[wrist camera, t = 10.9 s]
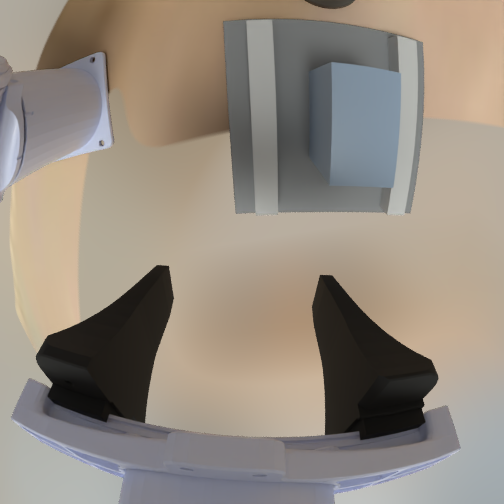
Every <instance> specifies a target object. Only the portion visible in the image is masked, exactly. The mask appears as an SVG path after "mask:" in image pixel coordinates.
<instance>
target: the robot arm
mask: <svg viewBox="0 0 504 504" xmlns="http://www.w3.org/2000/svg"><path fill="white" fill-rule="evenodd" d="M94 57H95V61H94V62H92V60H93V58H94ZM12 71H13V70H12V68H11V66H9V64H8V62H7V60H6V59H5V58H4V57H2V56H0V202H2V200H3V194H4V192H5V190H6V189H7V188H8V187H9V186H11V185H13V184H14V183H16V182H18V181H19V180H21V179H23V178H24V177H26V176H28V175H30V174H31V173H33V172H35V171H37V170H39V169H40V168H42V167H44V166H46V165H48V164H50V163H52V162H55V161H59V160H62V159H66V158H69V157H73V156H77V155H81V154H85V153H89V152H93V151H97V150H102V149H106V148H109V147H111V146H112V145H113V144H114V136H113V130H112V124H111V115H110V107H109V97H108V87H107V74H106V57H105V54H104V53H103V52H97V53H94V54H92V55H89V56H87V57H84V58H82V59H79V60H77V61H75V62H73V63H70V64H68V65H66V66H64V67H62V68H60V69H43V70H31V71H21V72H13V73H12ZM102 140H103V141H104V145H102V144H101V141H102ZM173 299H174V297H173V291H172V284H171V277H170V271H169V266H162V265H157V266H156V267H154V268H153V269H152V270H151V271H150V272H149V273H148V274H147V275H145V276H144V277H143V278H142V279H141V280H140V281H139V282H138V283H137V284H135V285H134V286H133V287H132V288H131V289H130V290H128V291H127V292H126V293H125V294H124V295H122V296H121V297H120V298H119V299H117V300H116V301H115V302H113V303H112V304H111V305H109V306H108V307H106V308H105V309H103V310H102V311H100V312H99V313H97V314H95V315H94V316H92V317H90V318H88V319H86V320H85V321H83V322H81V323H79V324H77V325H74V326H72V327H70V328H67V329H65V330H62V331H60V332H57V333H54V334H51V335H48V336H47V338H46V339H45V341H44V343H43V345H42V346H41V348H40V350H39V352H38V353H37V355H36V360H37V363H38V365H39V367H40V368H41V369H42V371H43V372H44V373H45V375H46V376H47V377H48V378H49V379H50V381H51V382H52V383H53V384H52V387H51V389H50V388H49V387H48V386H46V385H44V384H42V383H40V382H38V381H35V380H33V379H31V378H29V379H28V381H27V383H26V385H25V387H24V389H23V391H22V394H21V396H20V398H19V400H18V402H17V405H16V407H15V409H14V412H13V414H12V416H11V419H12V420H13V421H14V422H15V423H16V424H18V425H19V426H20V427H21V428H23V429H24V430H25V431H27V432H28V433H29V434H31V435H32V436H33V437H35V438H36V439H38V440H39V441H40V442H42V443H44V444H46V445H48V446H50V447H52V448H54V449H56V450H58V451H60V452H62V453H64V454H66V455H68V456H70V457H72V458H74V459H76V460H79V461H81V462H83V463H86V464H88V465H90V466H92V467H95V468H98V469H100V470H103V471H105V472H108V473H110V474H113V475H116V476H119V477H122V478H124V479H123V483H122V488H121V494H120V499H119V504H335V502H334V494H337V493H342V492H348V491H352V490H357V489H361V488H365V487H369V486H373V485H377V484H381V483H384V482H388V481H391V480H394V479H397V478H401V477H404V476H407V475H410V474H413V473H415V472H418V471H421V470H424V469H427V468H429V467H431V466H433V465H435V464H437V463H439V462H440V461H442V460H444V459H446V458H447V457H449V456H451V455H453V454H454V453H456V452H457V451H459V450H460V444H459V441H458V437H457V434H456V430H455V427H454V424H453V421H452V418H451V415H450V412H449V409H448V406H442V407H439V408H436V409H432V410H429V411H427V412H425V413H423V412H422V408H423V407H424V402H423V398H424V397H425V396H426V395H427V394H428V393H429V392H430V391H431V390H432V389H433V387H434V386H435V385H436V383H437V380H438V374H437V372H436V370H435V367H434V365H433V363H432V361H431V360H430V359H428V358H426V357H424V356H422V355H420V354H418V353H416V352H414V351H413V350H411V349H409V348H407V347H406V346H404V345H403V344H401V343H400V342H398V341H397V340H396V339H394V338H393V337H391V336H390V335H389V334H387V333H386V332H385V331H384V330H382V329H381V328H380V327H379V326H378V325H377V324H376V323H374V322H373V321H372V320H371V319H370V318H369V317H368V316H367V315H366V314H365V313H364V312H363V311H362V310H361V309H360V308H359V307H358V305H357V304H356V303H355V302H354V301H353V300H352V299H351V298H350V297H349V295H348V294H347V293H346V292H345V290H344V289H343V288H342V287H341V286H340V285H339V283H338V282H337V281H336V280H335V278H334V277H333V276H331V275H320V278H319V281H318V285H317V289H316V293H315V297H314V301H313V305H312V311H313V322H314V328H315V332H316V337H317V342H318V346H319V351H320V356H321V360H322V366H323V376H324V389H325V435H321V436H307V437H243V436H242V437H241V436H228V435H216V434H206V433H198V432H191V431H184V430H177V429H171V428H166V427H160V426H156V425H151V424H146V423H145V416H146V406H147V398H148V391H149V385H150V380H151V373H152V369H153V365H154V360H155V356H156V353H157V350H158V347H159V344H160V341H161V339H162V336H163V333H164V330H165V328H166V325H167V322H168V319H169V317H170V313H171V308H172V304H173Z"/></svg>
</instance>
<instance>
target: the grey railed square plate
mask: <svg viewBox="0 0 504 504" xmlns="http://www.w3.org/2000/svg"><path fill="white" fill-rule="evenodd" d="M223 24H224V44H225V62H226V80H227V96H228V112H229V128H230V142H231V156H232V171H233V184H234V196H235V197H234V198H235V210H236V214H237V213H256V215H278V212H385V213H386V214H387V215H404V213H410V212H411V207H412V202H413V196H414V191H415V185H416V178H417V171H418V164H419V156H420V148H421V138H422V125H423V109H424V56H423V42H420V41H417V40H413V39H410V38H406V37H403V36H399V35H395V34H392V33H388V32H383V31H379V30H374V29H369V28H364V27H359V26H353V25H347V24H340V23H332V22H323V21H312V20H295V19H250V20H234V21H223ZM330 62H336V63H345V64H353V65H360V66H367V67H373V68H378V69H384V70H389V71H393V72H398V73H401V113H400V131H399V144H398V154H397V164H396V172H395V180H394V187H393V188H383V187H361V186H329V184H328V183H327V181H326V180H325V179H324V177H323V176H322V174H321V173H320V172H319V170H318V169H317V167H316V166H315V165H314V163H313V162H312V161H311V159H310V158H309V71H312V70H314V69H316V68H318V67H321V66H323V65H325V64H328V63H330Z"/></svg>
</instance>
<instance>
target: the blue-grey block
mask: <svg viewBox="0 0 504 504" xmlns="http://www.w3.org/2000/svg"><path fill="white" fill-rule="evenodd" d="M400 113H401V73H398V72H393V71H389V70H384V69H378V68H373V67H367V66H360V65H353V64H345V63H336V62H330V63H328V64H325V65H323V66H321V67H318V68H316V69H314V70H312V71H309V158H310V159H311V161H312V162H313V163H314V165H315V166H316V167H317V169H318V170H319V172H320V173H321V174H322V176H323V177H324V179H325V180H326V181H327V183H328V184H329V186H361V187H383V188H393V187H394V180H395V172H396V164H397V154H398V144H399V131H400Z"/></svg>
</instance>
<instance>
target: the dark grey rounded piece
mask: <svg viewBox="0 0 504 504" xmlns="http://www.w3.org/2000/svg"><path fill="white" fill-rule="evenodd" d="M305 1H307V2H309V3H311V4H313V5H316V6H318V7H322V8H329V9H337V8H343V7H346V6H348V5H350V4H351V3H353V2H354V1H355V0H305Z"/></svg>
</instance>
